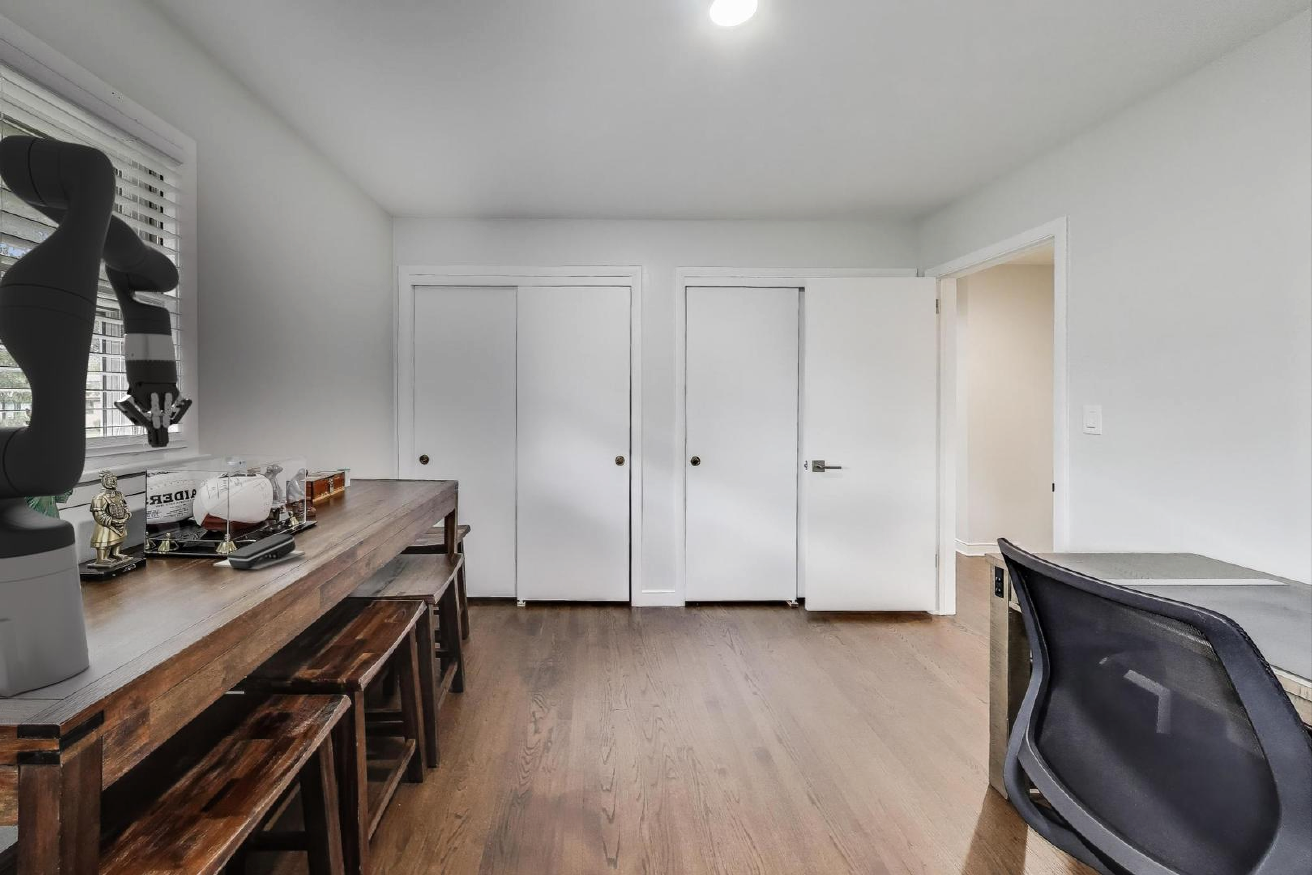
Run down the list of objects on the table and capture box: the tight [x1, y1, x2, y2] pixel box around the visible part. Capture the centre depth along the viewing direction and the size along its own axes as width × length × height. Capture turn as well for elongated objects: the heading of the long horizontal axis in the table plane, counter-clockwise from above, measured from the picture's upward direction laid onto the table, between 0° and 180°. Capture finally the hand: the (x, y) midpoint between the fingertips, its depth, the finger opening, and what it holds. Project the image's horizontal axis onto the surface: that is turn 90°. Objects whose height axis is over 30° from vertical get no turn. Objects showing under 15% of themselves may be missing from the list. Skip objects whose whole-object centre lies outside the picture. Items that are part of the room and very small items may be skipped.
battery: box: [226, 533, 296, 570], centre depth 125 cm, size 7×4×11 cm
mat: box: [213, 550, 306, 570], centre depth 128 cm, size 12×12×1 cm
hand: (159, 447), depth 112 cm, fingers closed
